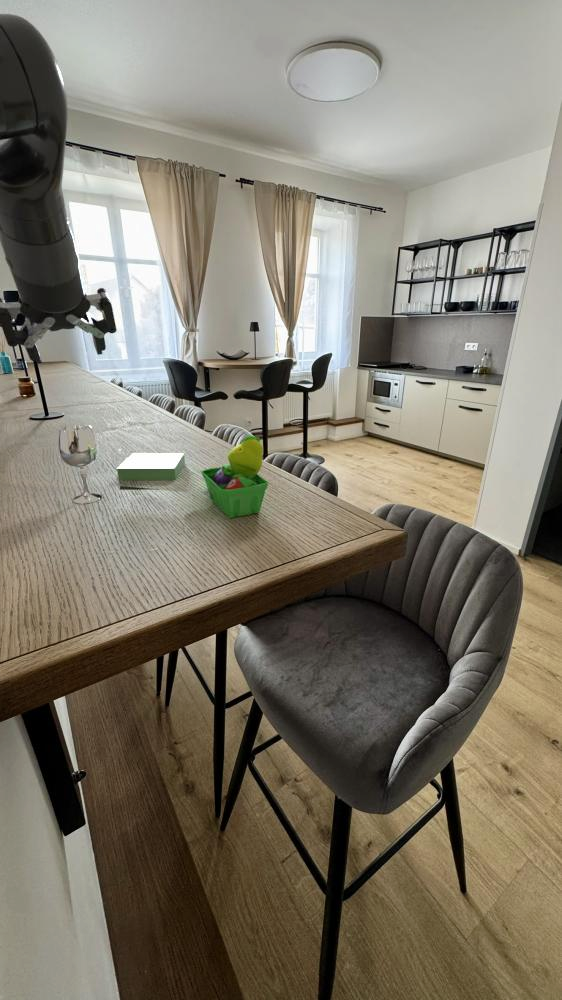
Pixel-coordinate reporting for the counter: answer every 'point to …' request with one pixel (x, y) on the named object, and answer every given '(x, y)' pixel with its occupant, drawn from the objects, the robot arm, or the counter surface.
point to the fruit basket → (238, 480)
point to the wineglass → (79, 454)
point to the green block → (150, 467)
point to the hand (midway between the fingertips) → (69, 354)
